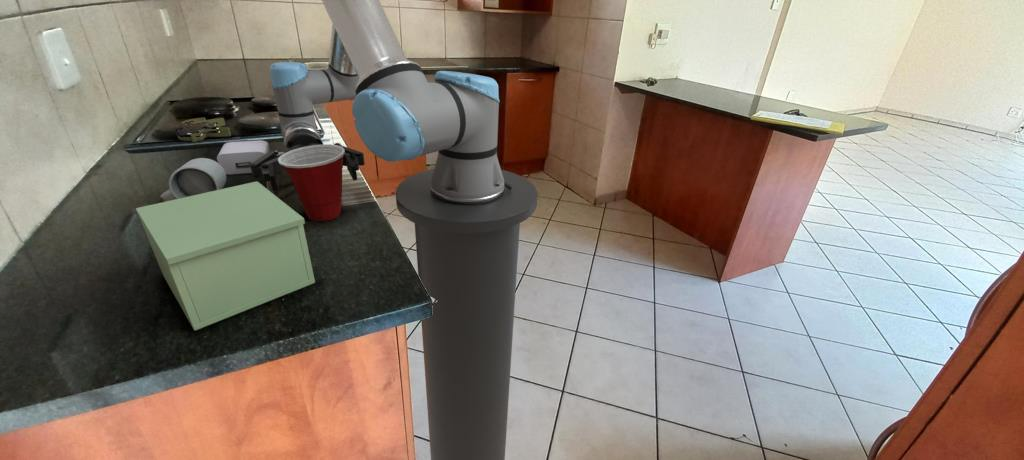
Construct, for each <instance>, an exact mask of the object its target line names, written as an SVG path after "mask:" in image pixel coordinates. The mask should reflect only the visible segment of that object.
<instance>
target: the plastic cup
mask: <svg viewBox="0 0 1024 460" xmlns="http://www.w3.org/2000/svg"><path fill="white" fill-rule="evenodd" d="M344 153H345V150H344V148H343V147H341V146H337V145H334V144H328V143H327V144H324V145H312V146H307V147H301V148H298V149H294V150H291V151H289V152H287V153H284V154H282V155H281V156H280V157H279V158H278V162H279V164H280V165H282V166H283V167H284V168H285V170H284V171H285V172H286V173H287V175H288V178H290V180H291V182H292V185H293V187H294V190H295V192H296V194H297V196H298V199H299V202H300V203H301V205H302V207H303V209H304V212H305V214H306V216H307V217H308V219H309V220H311V221H316V222H325V221H330V220H334V219H335V218H337V217H339V216H340V215H341V212H342V211H341V210H342V197H343V168H344V166H343V156H344Z"/></svg>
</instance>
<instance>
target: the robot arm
mask: <svg viewBox="0 0 1024 460" xmlns="http://www.w3.org/2000/svg"><path fill="white" fill-rule="evenodd" d="M321 2H322V4H323V6H324V9H325V11H326V13H327V15H328V17H329V19H330V21H331V23H332V25H331V34H330V35H331V37H330V46H329V48H330V49H329V55H328V56H329V57H328V65H327V68H325V69H324V68H323V69H309V70H308V69H307V65H306V64H304V63H303V62H301V61H300V62H299V61H279V62H274V63H272V64H271V65H269V76H270V82H271V88H272V92H273V96H274V100H275V104H276V109H277V115H278V120H279V124H280V131H281V136H282V138H283V143H284V147H285V149H284V150H283V151H278V150H276V149H275V148H270V150H269V151H268V153H267V154H265V155H264V156H262V157H261V158H259V159H258V160H256V161H255V162H253V163H251V164H250V167H251V171H252V173H251V175H252V178H255V179H259V178H261V177H262V179H263V181H264V182H270V185H271V190H272V191H273V192H275V191H276V192H277V191H278V184H277V183H278V182H277V177H276V175H278V174H280V173H282V172H283V171H286V170H285V168H284V167H283V166H282V165H280V164H279V162H278V158H279V157H280V156H281V155H282V154H284V153H287V152H289V151H291V150H294V149H298V148H301V147H307V146H312V145H325V144H324V142H323V140H322V138H321V136H320V134H319V132H318V129H317V123H316V118H315V110H314V105H321V104H327V103H328V104H329V103H336V102H342V101H343V102H344V101H353V102H352V107H351V111H352V112H351V113H352V117H354V119H355V120H354V121H353V123H354V127H355V129H356V132H357V134H358V136H359V138H360V140H361V141H362V143H363V144H364V145H365V147H366V148H367V149H368V151H370V152H371V153H372V154H373V155H375V156H376V157H378V158H380V159H382V160H384V161H385V162H392V163H396V162H401V161H412V160H415V159H417V158H419V157H422V156H425V155H430V154H433V153H437V158H436V160H435V165H434V167H433V169H434V171H433V174H432V177H431V183H430V189H431V194H432V195H433V196H434V197H435V198H437V199H439V200H441V201H444V202H447V203H451V204H457V205H480V204H485V203H489V202H493V201H495V200H497V199H499V198H500V197H502V196H503V194H504V190H505V187H506V188H508V189H509V190H511V189H512V186H511V185H510V184H508V183H507V182H505V181H504V178H503V175H502V171H501V170H502V168H501V165H500V162H499V159H498V138H499V137H498V135H499V134H498V133H499V111H500V110H499V109H500V95H499V93H500V92H499V84H498V83H497V80H496V79H494V78H493V77H490V76H485V75H480V74H474V73H469V72H460V71H450V70H439V71H436V72H435V76H434V81H433V82H429V81H428V80H427V78H426V75H425V73H424V71H423V69H422V67H421V65H420V64H419V63H418V62H415V61H414V60H413V61H412V60H410V59H408V58H407V57H406V55H405V52H404V49H403V47H402V46H401V44H400V41H399V39H398V37H397V34H396V33H395V31H394V28H393V26H392V24H391V23H390V20H389V17H388V16H387V14H386V12H385V10H384V7H383V5H382V3H381V1H380V0H321ZM333 145H337V146H341V147H343V148H344V150H345V153H344V156H343V167H346V169H347V171H348V173H349V175H350V177H351V179H352V181H357V180H358V175H357V173H358V172H357V171H359V170H360V167H361V166H365V165H366V164H365V163H366V162H365V156H364V152H362V151H359V150H356V149H353V148H350V147H349V146H348V147H347V146H344V145H342V144H341V143H340V142H334V144H333Z"/></svg>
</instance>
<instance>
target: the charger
mask: <svg viewBox="0 0 1024 460" xmlns="http://www.w3.org/2000/svg"><path fill="white" fill-rule="evenodd" d="M270 149H271V148H270V145H269V142H268V141H266V140H246V141H245V140H244V141H243V140H242V141H227V142H225V143H224V144H223V145H222V147H221V149H220V151H219V153H218V154H217V156H216V160H217V163H219V164H220V165H221V166H222V167H223V169H224V170H225V173H226V175H240V174H242V175H243V174H252V171H251V167H250V164H251V163H253V162H255V161H256V160H258V159H259V158H261V157H262V156H264V155H265V154H267V153H268V151H269V150H270Z"/></svg>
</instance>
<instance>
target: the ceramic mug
mask: <svg viewBox="0 0 1024 460" xmlns="http://www.w3.org/2000/svg"><path fill="white" fill-rule="evenodd" d="M168 179H169V180H168V189H167V190H165V191H164V192H163V193H162V194H161V195H160V196H159V197H160V199H161V200H162V202H166V201H171V200H175V199H180V198H184V197H189V196H193V195H198V194H202V193H207V192H211V191H216V190H220V189H224V188H225V185H226V183H227V174H226V173H225V170H224V169H223V167H222V166H221V165H220V164H219V163H218V161H216V160H214V159H211V158H207V157H198V158H193V159H191V160H188V161H187V162H185V164H183V165H182V166H180V167H178V168H177V169H176V170H174V171H173V172H172V174H170V177H169V178H168Z"/></svg>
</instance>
